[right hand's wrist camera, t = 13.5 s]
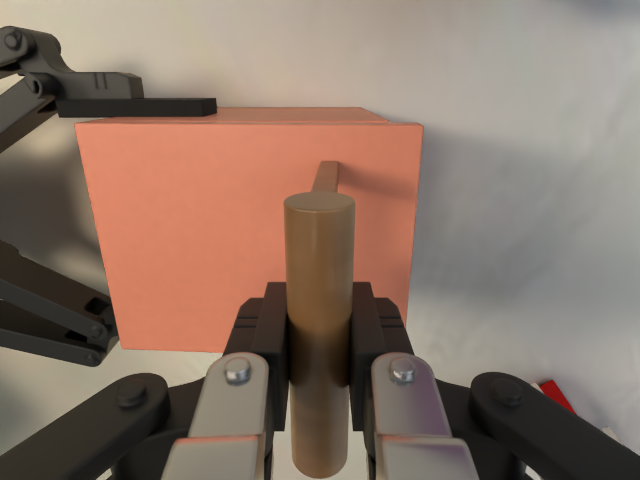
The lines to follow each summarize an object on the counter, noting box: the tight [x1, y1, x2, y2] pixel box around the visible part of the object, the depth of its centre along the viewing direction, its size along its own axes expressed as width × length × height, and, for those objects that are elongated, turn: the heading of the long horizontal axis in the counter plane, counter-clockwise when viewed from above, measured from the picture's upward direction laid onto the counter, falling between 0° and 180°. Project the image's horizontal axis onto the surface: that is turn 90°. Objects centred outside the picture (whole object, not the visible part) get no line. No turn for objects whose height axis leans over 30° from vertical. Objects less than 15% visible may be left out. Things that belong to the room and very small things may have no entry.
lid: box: [74, 121, 424, 479], centre depth 14 cm, size 13×10×8 cm
